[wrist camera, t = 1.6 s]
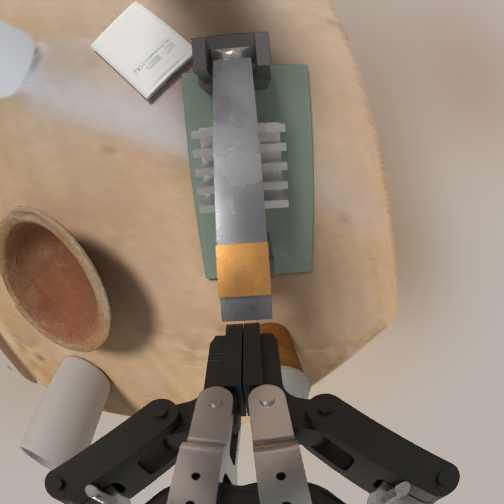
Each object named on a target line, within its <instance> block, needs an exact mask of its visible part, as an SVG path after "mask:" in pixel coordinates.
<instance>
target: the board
mask: <svg viewBox="0 0 504 504" xmlns="http://www.w3.org/2000/svg"><path fill="white" fill-rule="evenodd" d="M270 71H271V81H270V83H269V85H268V87H267V89H259V90H254V92H255V102H256V112H257V123H267V122H279V124H285V129H286V132H280V141H282V142H285V143H286V148H287V151H281V157H282V158H283V159H284V160H285V161H286V162H287V170H282V174H283V175H284V177H285V178H286V179H287V181H288V189H283V191H284V193H285V194H286V196H287V198H288V200H289V207H282V208H266V209H265V217H266V230H267V232H269V236H270V241H271V246H272V251H273V256H274V268H275V274H287V273H300V272H312V251H313V151H312V125H311V107H310V91H309V78H308V66H307V65H271V67H270ZM182 84H183V98H184V110H185V121H186V132H187V142H188V152H189V161H190V169H191V178H192V186H193V194H194V201H195V209H196V216H197V223H198V230H199V236H200V243H201V249H202V256H203V262H204V268H205V274H206V279H211V278H217V263H216V245H217V237H216V216H215V212H212V213H201V214H200V208H199V206H200V204H201V202H202V201H203V199H204V197H205V196H206V195H198V193H197V187H198V186H199V185H200V184H201V182H202V181H203V180H204V176H200V177H196V176H195V169H196V168H197V167H198V166H199V165H201V164H202V157H199V158H193V150H195V149H197V148H199V147H201V145H200V138H197V139H191V131H197V130H199V128H207V127H213V93H211V94H208V93H207V92H205V91H204V90H203V89H202V88H201V87H199V83H198V76H197V75H196V74H195V73H194V72H188V73H182Z"/></svg>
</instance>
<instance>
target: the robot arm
mask: <svg viewBox="0 0 504 504" xmlns="http://www.w3.org/2000/svg"><path fill="white" fill-rule="evenodd" d="M246 407H247V413H248V416H250V422H251V430H252V439H253V451H254V460H255V468H256V476H257V482H256V483H252V484H248V485H244V486H238V485H237V460H238V451H239V442H240V428H241V416H246ZM299 444H300V445H303V446H304V447H305V448H306V449H307V450H308V451H310V452H311V453H312V454H314V455H315V456H316V457H318V458H319V459H320V460H322V461H323V462H324V463H326V464H327V465H328V466H330V467H331V468H333V469H334V470H335V471H337V472H338V473H340V474H341V475H343V476H344V477H345V478H347V479H349V480H350V481H351V482H353V483H355V484H356V485H357V486H359V487H361V488H362V489H364V490H366V491H367V492H368V493H370V495H369V497H368V500H367V504H434V503H435V502H436V501H437V500H439V499H441V498H443V497H444V496H446V495H448V494H450V493H451V492H452V491H453V490H454V489H455V488H456V487H457V485H458V482H459V478H460V475H459V471H458V469H457V467H456V466H454V465H453V464H452V463H449V462H448V461H446V460H443V459H442V458H440V457H438V456H436V455H434V454H432V453H430V452H428V451H426V450H424V449H423V448H421V447H419V446H417V445H415V444H413V443H412V442H410V441H408V440H406V439H405V438H403V437H401V436H399V435H398V434H396V433H394V432H392V431H391V430H389V429H387V428H386V427H384V426H382V425H381V424H379V423H377V422H376V421H374V420H372V419H370V418H369V417H368V416H366V415H364V414H363V413H361V412H360V411H358V410H356V409H355V408H353V407H352V406H350V405H349V404H347V403H345V402H344V401H342V400H341V399H340V398H338V397H336V396H334V395H331V394H320V395H317V396H315V397H313V398H312V399H311V400H310V399H303V398H298V397H295V396H292V395H290V394H289V393H288V392H287V391H286V390H285V388H284V386H283V382H282V374H281V366H280V358H279V350H278V342H277V339H276V338H275V337H274V335H273V334H272V333H262V334H260V324H259V323H244V330H243V324H227V325H226V336H215V338H214V339H213V341H212V342H211V343H210V349H209V356H208V363H207V371H206V378H205V385H204V390H203V391H202V392H201V393H200V394H199V396H198V397H197V398H196V399H194V400H192V401H190V402H186V403H182V404H177V405H175V404H174V403H173V402H172V401H170V400H167V399H157V400H154V401H152V402H150V403H149V404H147V405H146V406H145V407H143V408H142V409H141V410H139V411H138V412H137V413H135V414H134V415H133V416H131V417H130V418H129V419H127V420H126V421H124V422H123V423H122V424H120V425H119V426H117V427H116V428H115V429H113V430H112V431H110V432H109V433H108V434H106V435H105V436H103V437H102V438H100V439H99V440H98V441H96V442H95V443H93V444H92V445H90V446H89V447H87V448H86V449H84V450H83V451H81V452H80V453H78V454H77V455H75V456H74V457H72V458H71V459H69V460H68V461H66V462H64V463H63V464H61V465H60V466H58V467H56V468H55V469H53V470H52V471H50V472H49V473H48V474H47V476H46V478H45V487H46V490H47V492H48V493H49V494H50V495H51V496H52V497H53V498H55V499H57V500H59V501H61V502H63V503H64V504H131V503H130V500H129V499H130V498H132V497H133V496H135V495H136V494H137V493H139V492H140V491H141V490H143V489H144V488H145V487H147V486H148V485H149V484H151V483H152V482H153V481H155V480H156V479H157V478H158V477H159V476H161V475H162V474H163V473H165V472H166V471H167V470H168V469H170V468H171V467H172V466H173V465H175V464H176V465H175V469H174V473H173V477H172V482H171V486H169V487H167V488H165V489H163V490H162V491H160V492H159V493H158V494H156V495H155V496H154V497H153V498H152V499H150V500H149V501H148V502H147V503H145V504H345V503H344V502H343V501H341V500H340V499H339V498H337V497H336V496H335V495H333V494H332V493H331V492H329V491H328V490H326V489H325V488H323V487H321V486H318V485H315V484H312V483H308V482H307V478H306V474H305V470H304V465H303V461H302V457H301V452H300V448H299Z"/></svg>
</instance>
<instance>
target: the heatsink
mask: <svg viewBox="0 0 504 504" xmlns="http://www.w3.org/2000/svg"><path fill="white" fill-rule="evenodd" d="M280 132H286V129H285V124H279V122H267V123H258V134H259V145H260V156H261V168H262V180H263V192H264V204H265V209H266V208H282V207H289V200H288V198H287V196H286V194H285V193H284V191H283V189H288V181H287V179H286V178H285V177H284V175H283V174H282V170H287V162H286V161H285V160H284V159H283V158H282V157H281V151H287V148H286V143H285V142H282V141H280ZM197 138H200V145H201V147H199V148H197V149H195V150H193V158H199V157H202V164H201V165H199V166H198V167H197V168H196V169H195V176H196V177H200V176H204V180H203V181H202V182H201V184H200V185H199V186H198V187H197V193H198V195H206V196H205V197H204V199H203V201H202V202H201V204H200V206H199V208H200V214H201V213H212V212H215V191H214V158H213V127H207V128H199V130H197V131H191V139H197Z"/></svg>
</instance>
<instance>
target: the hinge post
mask: <svg viewBox="0 0 504 504" xmlns="http://www.w3.org/2000/svg"><path fill="white" fill-rule="evenodd" d="M191 40H192V59H193V72H194V73H195V74H196V75H197V76H198V83H199V87H201V88H202V89H203V90H204V91H205V92H207V93H208V94H211V93H213V67H210V63H209V50H216V49H225V48H236V47H251V46H254V53H255V64H252V72H253V82H254V90H259V89H267V87H268V85H269V83H270V81H271V71H270V67H271V58H270V46H269V35H268V32H255V33H238V34H226V35H217V36H209V37H200V38H193V39H191Z"/></svg>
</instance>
